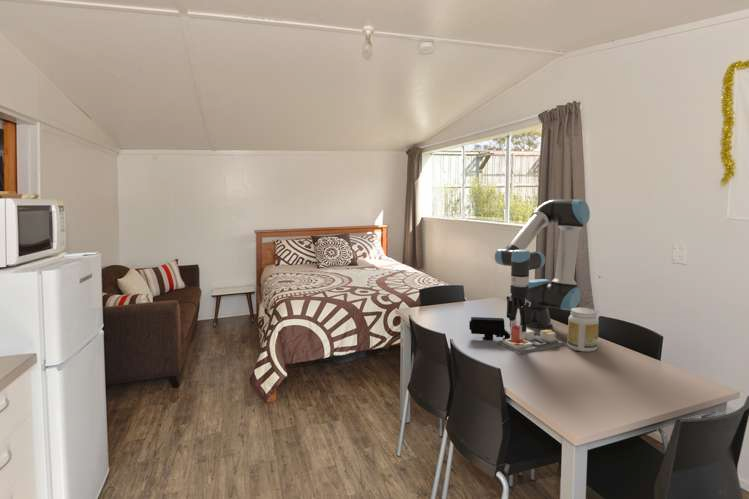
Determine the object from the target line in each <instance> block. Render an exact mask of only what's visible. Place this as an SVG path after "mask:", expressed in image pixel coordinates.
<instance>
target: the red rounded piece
mask: <svg viewBox="0 0 749 499" xmlns="http://www.w3.org/2000/svg"><path fill="white" fill-rule="evenodd" d="M510 331H511V335H510V339H511V342H514V343H523V339H519V332H520V324H519V325H515V327H512V329H511V328H510Z"/></svg>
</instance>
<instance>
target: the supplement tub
mask: <svg viewBox="0 0 749 499" xmlns="http://www.w3.org/2000/svg"><path fill="white" fill-rule="evenodd" d="M567 321H568V323H567V324H568V325H567V326H568V327H567V328H568V329H567V342H566V343H567V346H568V347H569V348H571V349H573V350H575V351H579V352H584V353H585V352H594V351H596V350H598V343H599V327H600V326H599V323H600V320H599V318H598V311H597V310H596V309H593V308H590V307H577V306H576V308H572V309H571V310H570V315H568V320H567Z"/></svg>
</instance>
